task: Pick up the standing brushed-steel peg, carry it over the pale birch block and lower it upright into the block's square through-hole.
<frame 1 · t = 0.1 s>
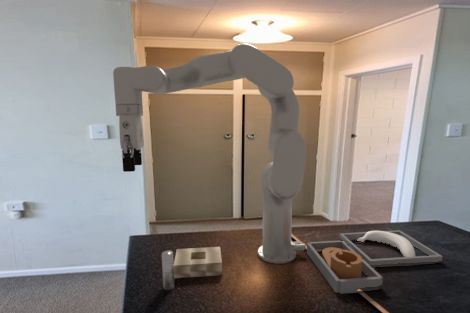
hand: (133, 168, 87), 31 cm above the kitchen counter, tool pointing down, fingers open, 9 cm apart
steel peg: (168, 286, 79), on the kitchen counter
bracket: (339, 270, 88), on the kitchen counter
hole block: (198, 267, 89), on the kitchen counter
banana edging: (386, 250, 99), on the kitchen counter
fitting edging: (339, 268, 88), on the kitchen counter
banana: (385, 250, 99), touching banana edging
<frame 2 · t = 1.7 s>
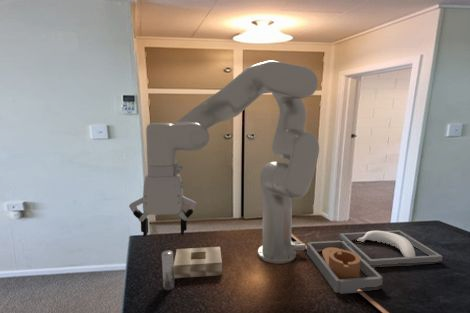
hand: (164, 233, 77), 16 cm above the kitchen counter, tool pointing down, fingers open, 9 cm apart
nothing on the kitchen counter moved.
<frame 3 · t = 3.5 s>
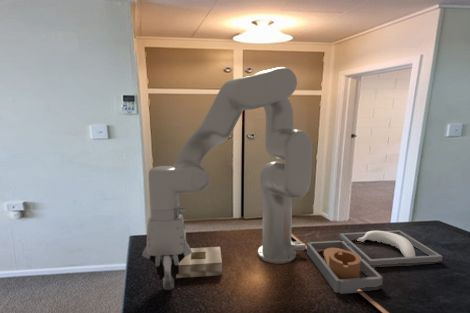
hand: (168, 276, 79), 3 cm above the kitchen counter, tool pointing down, fingers closed on steel peg, 3 cm apart
steel peg: (168, 286, 79), on the kitchen counter, touching gripper
everything else where it was.
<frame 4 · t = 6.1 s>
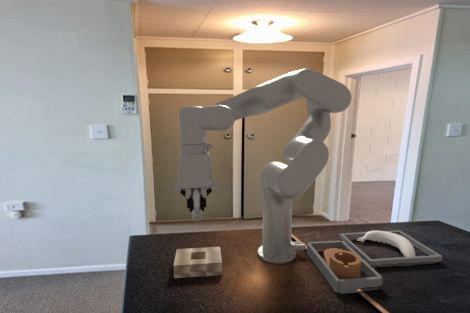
hand: (197, 209, 86), 19 cm above the kitchen counter, tool pointing down, fingers closed on steel peg, 3 cm apart
steel peg: (197, 219, 86), point 16 cm above the kitchen counter, touching gripper
everything else where it was.
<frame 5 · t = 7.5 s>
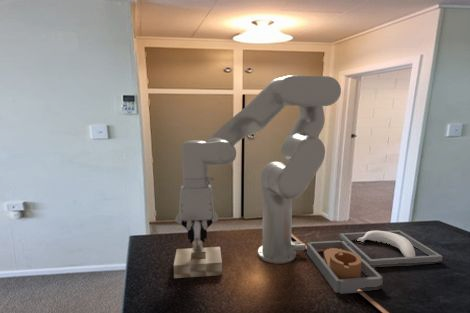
hand: (197, 240, 88), 9 cm above the kitchen counter, tool pointing down, fingers closed on steel peg, 3 cm apart
steel peg: (197, 250, 88), point 6 cm above the kitchen counter, touching gripper
everything else where it was.
when the fingers open (5 cm above the kitchen counter, at t = 8.6 s): steel peg drops 1 cm, on the kitchen counter.
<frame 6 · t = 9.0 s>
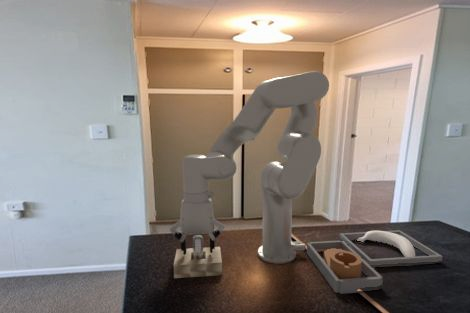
hand: (198, 251, 88), 5 cm above the kitchen counter, tool pointing down, fingers open, 7 cm apart
steel peg: (198, 267, 89), on the kitchen counter
everything else where it was.
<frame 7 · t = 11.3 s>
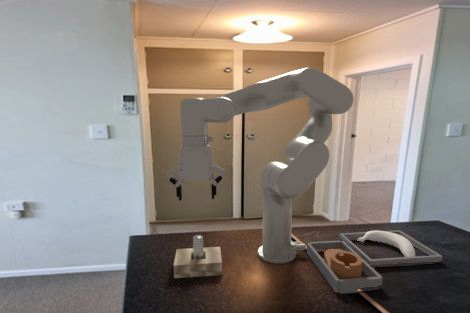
hand: (196, 198, 86), 22 cm above the kitchen counter, tool pointing down, fingers open, 9 cm apart
nothing on the kitchen counter moved.
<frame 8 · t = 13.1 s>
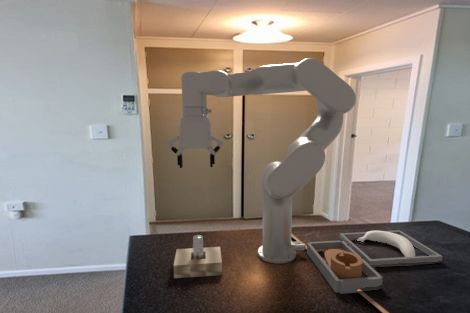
hand: (196, 166, 92), 30 cm above the kitchen counter, tool pointing down, fingers open, 9 cm apart
nothing on the kitchen counter moved.
at the end: steel peg 0.1 cm off-centre on the hole block, point 0.0 cm above the hole block's base; steel peg tilted 0°; the gripper is holding nothing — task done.
